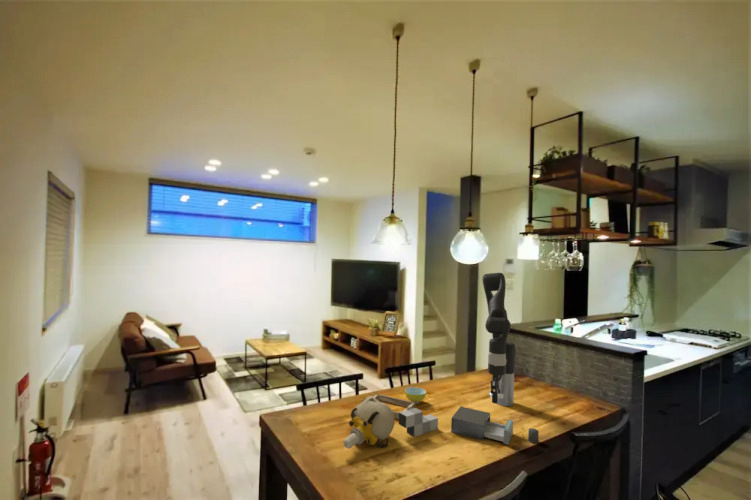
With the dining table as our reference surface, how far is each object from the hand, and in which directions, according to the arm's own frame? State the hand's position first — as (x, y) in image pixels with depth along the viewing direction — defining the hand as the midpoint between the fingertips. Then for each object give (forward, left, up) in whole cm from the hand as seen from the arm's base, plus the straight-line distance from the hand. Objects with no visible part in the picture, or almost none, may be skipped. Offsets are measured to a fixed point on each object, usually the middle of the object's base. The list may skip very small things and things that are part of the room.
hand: (496, 400), depth 163 cm
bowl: (-16, -45, -16) cm, 50 cm away
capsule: (-4, +15, -15) cm, 22 cm away
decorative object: (+37, -48, -16) cm, 62 cm away
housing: (0, -11, -15) cm, 19 cm away
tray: (0, -1, -15) cm, 15 cm away
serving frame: (0, -53, -15) cm, 55 cm away
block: (+15, -30, -16) cm, 37 cm away
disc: (0, 0, +2) cm, 2 cm away
